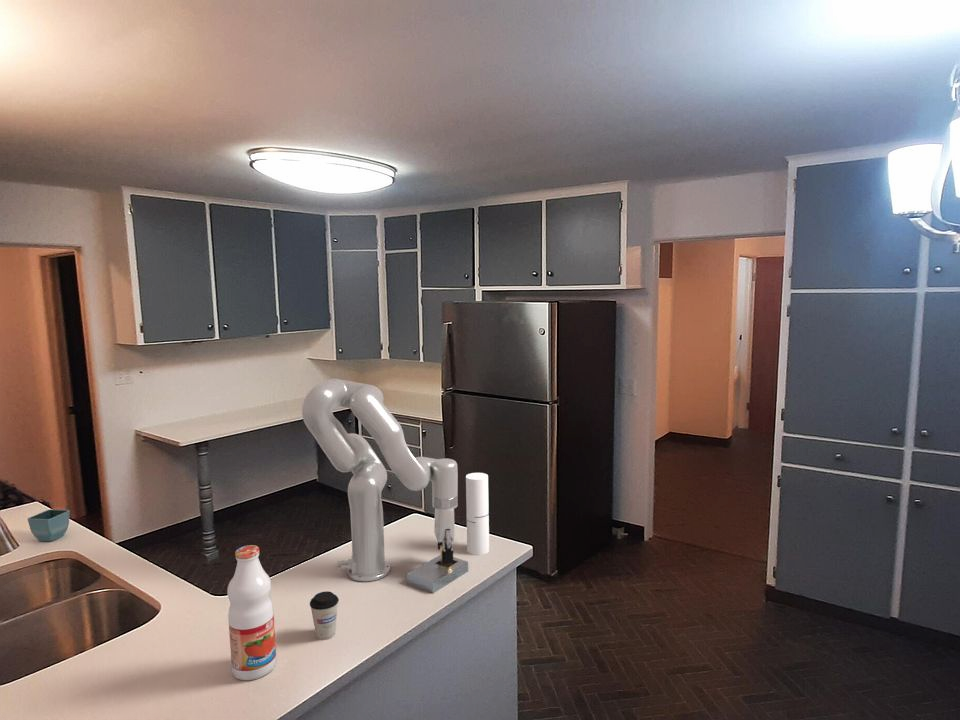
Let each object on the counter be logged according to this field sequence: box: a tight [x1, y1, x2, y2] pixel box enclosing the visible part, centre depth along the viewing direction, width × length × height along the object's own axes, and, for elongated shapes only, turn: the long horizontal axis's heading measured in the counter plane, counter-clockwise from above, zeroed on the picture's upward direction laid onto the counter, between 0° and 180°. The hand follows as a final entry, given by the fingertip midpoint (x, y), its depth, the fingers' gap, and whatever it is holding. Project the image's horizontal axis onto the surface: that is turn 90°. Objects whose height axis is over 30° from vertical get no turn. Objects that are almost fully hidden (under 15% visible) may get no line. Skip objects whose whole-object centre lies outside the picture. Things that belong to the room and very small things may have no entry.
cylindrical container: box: [465, 472, 490, 556], centre depth 190 cm, size 7×7×25 cm
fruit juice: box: [226, 544, 277, 681], centre depth 131 cm, size 9×9×28 cm
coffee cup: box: [309, 590, 340, 641], centre depth 145 cm, size 7×7×10 cm
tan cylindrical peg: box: [439, 544, 453, 568], centre depth 176 cm, size 4×4×8 cm
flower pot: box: [27, 509, 70, 542], centre depth 205 cm, size 9×9×9 cm
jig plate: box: [406, 554, 469, 594], centre depth 173 cm, size 16×10×3 cm, turn 143°
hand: (445, 555), depth 176 cm, fingers open, 9 cm apart
